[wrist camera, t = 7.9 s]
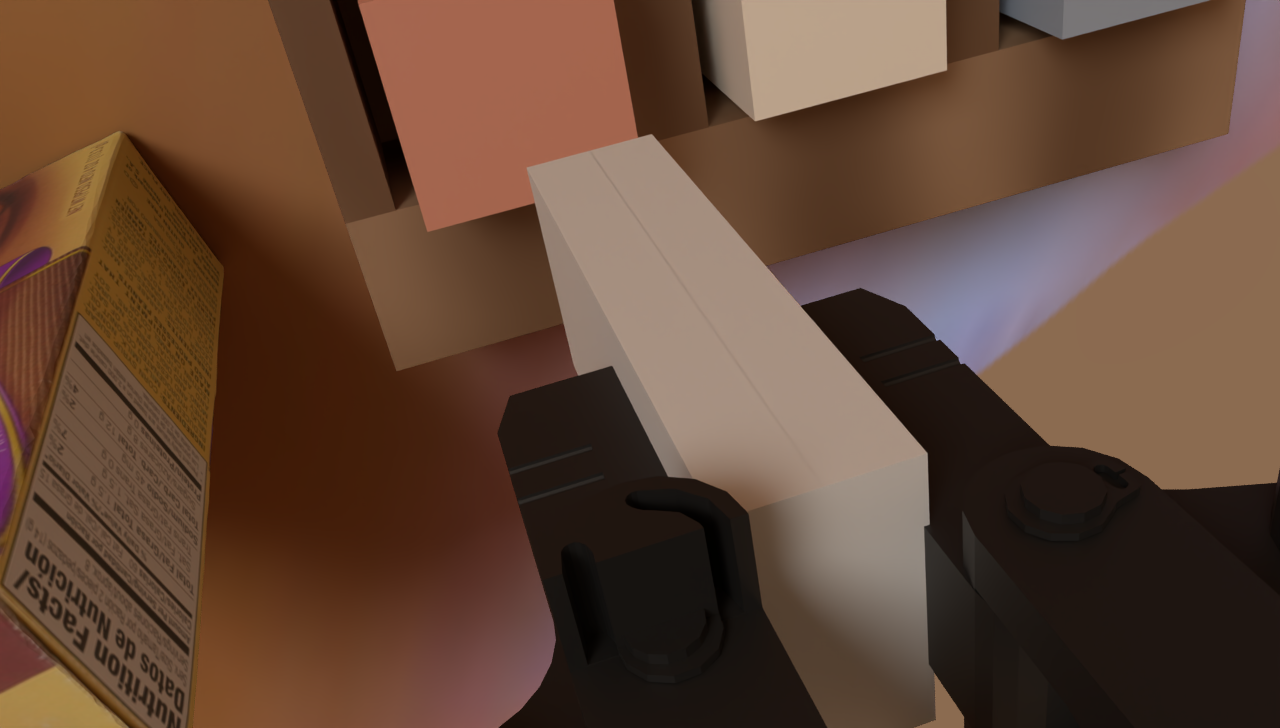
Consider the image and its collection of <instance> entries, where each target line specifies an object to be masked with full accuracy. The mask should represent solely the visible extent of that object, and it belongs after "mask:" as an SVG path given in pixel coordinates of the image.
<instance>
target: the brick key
mask: <svg viewBox="0 0 1280 728" xmlns="http://www.w3.org/2000/svg"><path fill="white" fill-rule="evenodd" d="M358 4H359V7H360V11H361V14H362V17H363V21H364V24H365V27H366V31H367V34H368V37H369V41H370V44H371V47H372V50H373V54H374V57H375V60H376V64H377V67H378V70H379V74H380V77H381V80H382V84H383V87H384V90H385V93H386V97H387V100H388V103H389V107H390V110H391V113H392V117H393V120H394V123H395V126H396V130H397V133H398V136H399V140H400V143H401V146H402V150H403V153H404V156H405V160H406V163H407V166H408V169H409V173H410V176H411V179H412V183H413V186H414V189H415V193H416V196H417V199H418V203H419V206H420V209H421V212H422V216H423V219H424V222H425V226H426V229H427V232H429V231H433V230H437V229H440V228H444V227H448V226H452V225H455V224H459V223H463V222H466V221H470V220H474V219H478V218H481V217H485V216H489V215H492V214H496V213H500V212H503V211H507V210H511V209H515V208H518V207H522V206H526V205H529V204H533V203H535V201H534V197H533V193H532V189H531V184H530V180H529V176H528V172H527V167H531V166H534V165H538V164H542V163H546V162H549V161H553V160H557V159H561V158H564V157H568V156H572V155H575V154H579V153H583V152H587V151H590V150H594V149H598V148H602V147H605V146H609V145H613V144H617V143H620V142H624V141H628V140H632V139H635V138H638V135H637V130H636V124H635V118H634V113H633V107H632V101H631V96H630V90H629V84H628V79H627V73H626V67H625V62H624V56H623V51H622V45H621V39H620V34H619V28H618V22H617V17H616V11H615V5H614V0H358Z"/></svg>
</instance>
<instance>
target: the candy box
mask: <svg viewBox="0 0 1280 728" xmlns="http://www.w3.org/2000/svg"><path fill="white" fill-rule="evenodd" d="M223 279H224V266H223V265H222V264H221V263H220V262H219V261H218V260H217V258H216V257H215V256H214V254H213V253H212V252H211V250H210V249H209V247H208V246H207V245H206V243H205V242H204V241H203V239H202V238H201V237H200V235H199V234H198V233H197V231H196V230H195V229H194V227H193V226H192V224H191V223H190V222H189V220H188V219H187V218H186V216H185V215H184V214H183V212H182V211H181V210H180V208H179V207H178V206H177V204H176V203H175V202H174V200H173V199H172V197H171V196H170V195H169V193H168V192H167V191H166V189H165V188H164V187H163V185H162V184H161V183H160V181H159V180H158V179H157V177H156V176H155V175H154V173H153V172H152V171H151V169H150V168H149V166H148V165H147V164H146V162H145V161H144V159H143V158H142V156H141V155H140V154H139V152H138V151H137V149H136V148H135V146H134V145H133V143H132V142H131V141H130V139H129V138H128V137H127V135H126V134H125V133H124V132H121V131H118V132H116V133H114V134H112V135H110V136H108V137H106V138H104V139H103V140H100V141H98V142H96V143H94V144H92V145H89V146H87V147H85V148H83V149H80V150H78V151H76V152H74V153H72V154H70V155H68V156H66V157H64V158H62V159H60V160H58V161H56V162H54V163H51V164H49V165H47V166H45V167H43V168H41V169H39V170H37V171H35V172H33V173H31V174H29V175H27V176H25V177H23V178H22V179H20V180H18V181H17V182H15V183H13V184H11V185H9V186H7V187H5V188H3V189H0V728H193V719H194V704H195V693H196V683H197V668H198V651H199V638H200V624H201V608H202V587H203V577H204V563H205V546H206V529H207V517H208V507H209V488H210V461H211V447H212V436H213V417H214V402H215V397H216V384H217V362H218V358H217V354H218V338H219V327H220V312H221V299H222V289H223Z"/></svg>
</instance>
